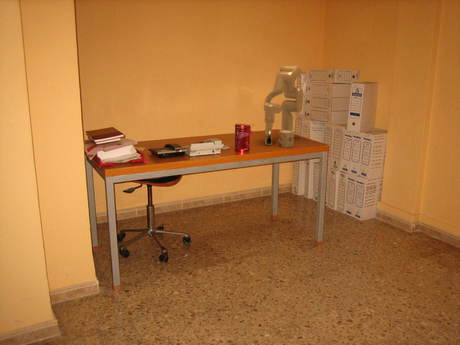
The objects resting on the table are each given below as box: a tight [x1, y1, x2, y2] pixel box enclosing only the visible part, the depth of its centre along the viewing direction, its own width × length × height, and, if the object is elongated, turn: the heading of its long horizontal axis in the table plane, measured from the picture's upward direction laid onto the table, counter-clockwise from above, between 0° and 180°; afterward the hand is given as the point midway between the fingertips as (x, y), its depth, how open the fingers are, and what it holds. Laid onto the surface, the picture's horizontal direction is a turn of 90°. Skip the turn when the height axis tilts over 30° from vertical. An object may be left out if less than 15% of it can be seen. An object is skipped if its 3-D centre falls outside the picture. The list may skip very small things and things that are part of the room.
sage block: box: [264, 136, 273, 146], centre depth 342 cm, size 5×5×5 cm
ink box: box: [277, 130, 295, 149], centre depth 335 cm, size 9×9×12 cm
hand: (268, 142), depth 342 cm, fingers open, 9 cm apart
